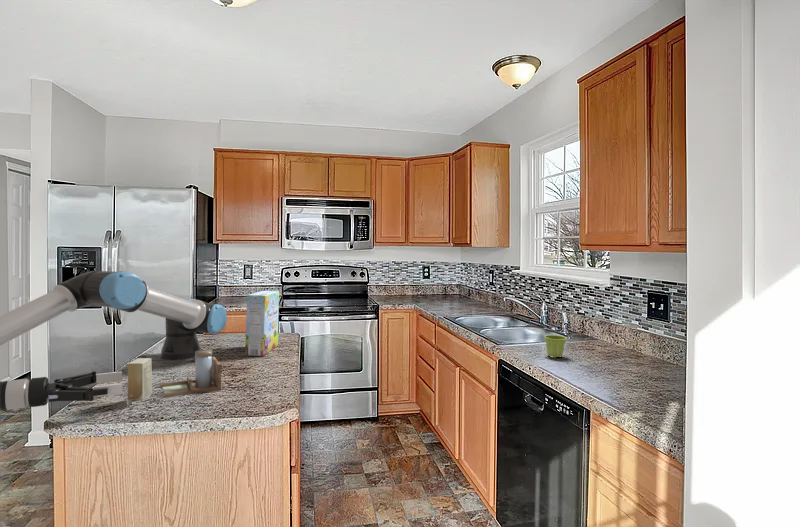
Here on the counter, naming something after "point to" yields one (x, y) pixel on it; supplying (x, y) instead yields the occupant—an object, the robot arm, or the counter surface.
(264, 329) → the snack box
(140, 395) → the skincare box
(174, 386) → the rack
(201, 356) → the spice jar
